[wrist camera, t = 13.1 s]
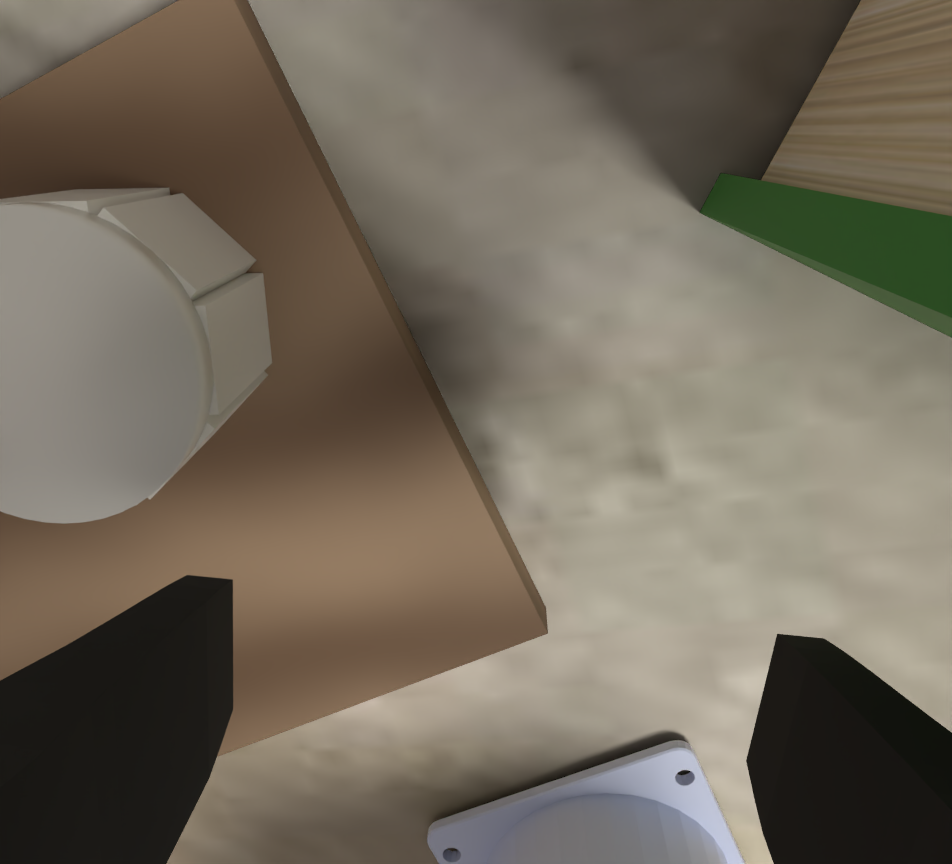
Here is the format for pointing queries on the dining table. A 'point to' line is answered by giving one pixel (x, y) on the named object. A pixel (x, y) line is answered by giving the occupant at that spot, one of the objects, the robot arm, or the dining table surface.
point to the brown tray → (267, 404)
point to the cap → (117, 346)
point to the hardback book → (866, 165)
